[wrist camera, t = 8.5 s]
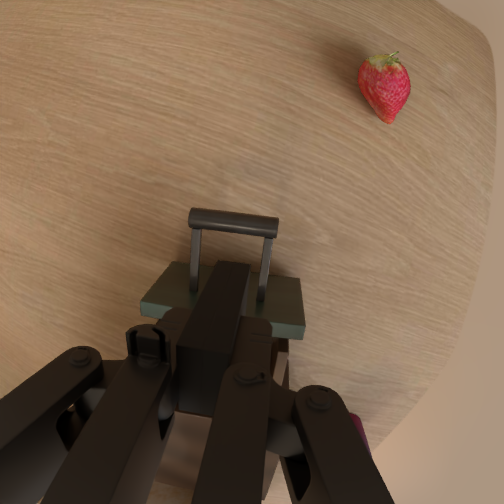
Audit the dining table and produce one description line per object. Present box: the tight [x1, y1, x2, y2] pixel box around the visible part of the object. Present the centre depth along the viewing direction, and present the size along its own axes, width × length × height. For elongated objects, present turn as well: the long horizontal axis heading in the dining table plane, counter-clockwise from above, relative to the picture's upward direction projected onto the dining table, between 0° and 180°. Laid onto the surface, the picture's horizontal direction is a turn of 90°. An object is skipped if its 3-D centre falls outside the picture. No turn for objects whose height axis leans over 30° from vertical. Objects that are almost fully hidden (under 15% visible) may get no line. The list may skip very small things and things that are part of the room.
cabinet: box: [155, 359, 289, 500], centre depth 31 cm, size 15×13×10 cm
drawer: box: [140, 207, 306, 406], centre depth 26 cm, size 20×11×8 cm, turn 174°
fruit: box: [358, 51, 411, 124], centre depth 21 cm, size 4×6×5 cm
